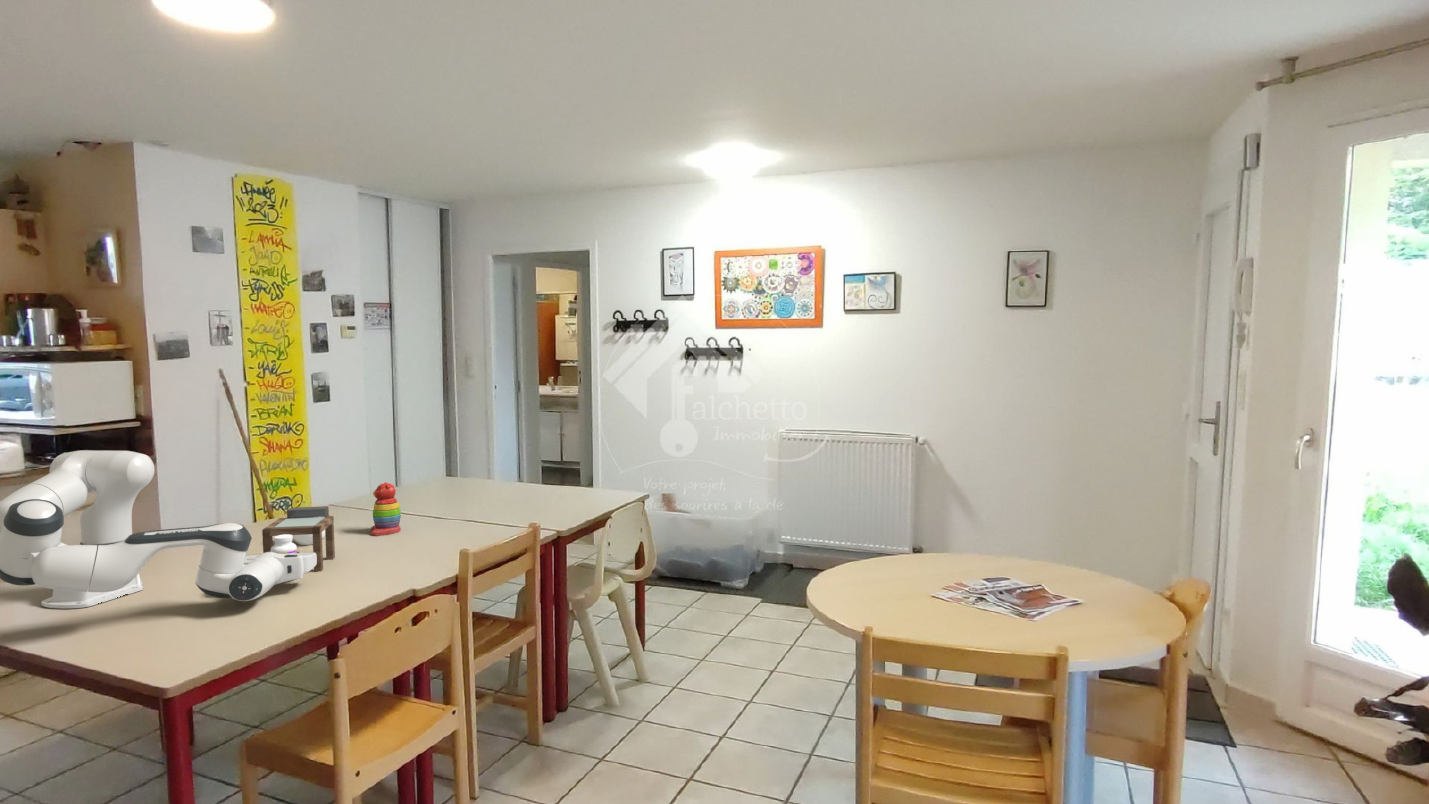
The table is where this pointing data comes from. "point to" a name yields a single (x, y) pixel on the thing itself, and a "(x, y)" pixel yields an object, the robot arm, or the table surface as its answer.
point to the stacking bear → (385, 511)
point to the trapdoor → (304, 516)
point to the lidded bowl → (306, 538)
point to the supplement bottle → (284, 545)
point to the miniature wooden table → (316, 530)
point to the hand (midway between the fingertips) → (285, 555)
